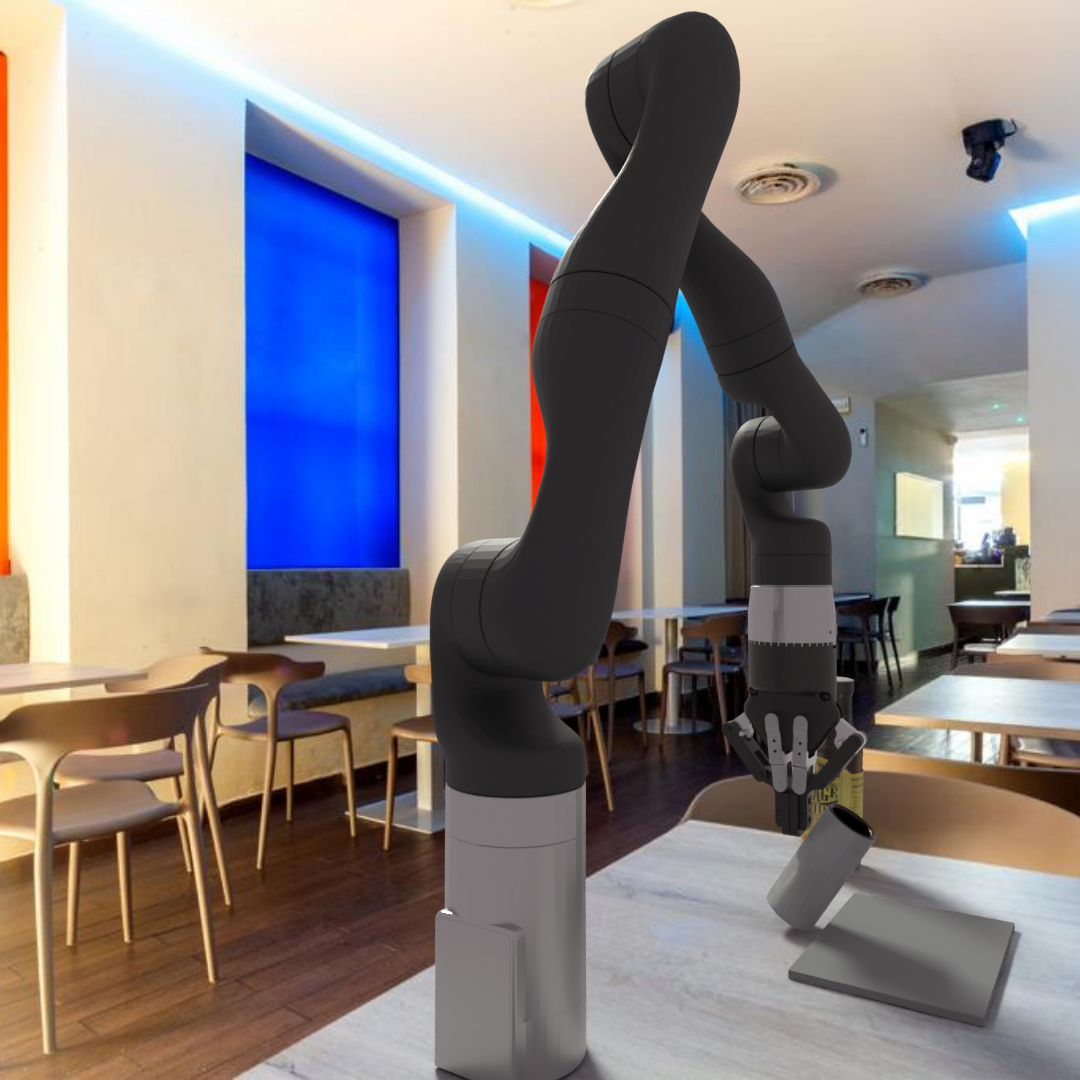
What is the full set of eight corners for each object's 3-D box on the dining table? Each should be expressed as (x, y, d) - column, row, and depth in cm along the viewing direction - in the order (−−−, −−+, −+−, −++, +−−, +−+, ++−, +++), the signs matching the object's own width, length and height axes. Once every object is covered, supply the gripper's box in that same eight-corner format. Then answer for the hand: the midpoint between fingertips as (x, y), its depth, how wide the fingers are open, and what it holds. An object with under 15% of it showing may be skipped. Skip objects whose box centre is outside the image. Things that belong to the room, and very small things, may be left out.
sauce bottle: (788, 859, 96) (787, 675, 97) (833, 852, 99) (831, 673, 100) (832, 878, 90) (829, 682, 91) (878, 870, 93) (875, 679, 94)
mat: (984, 1027, 61) (983, 1018, 61) (788, 977, 68) (788, 969, 68) (1014, 929, 77) (1014, 922, 77) (854, 898, 85) (854, 892, 85)
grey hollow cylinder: (808, 910, 80) (871, 821, 78) (815, 940, 76) (882, 847, 74) (763, 884, 81) (825, 794, 78) (768, 913, 76) (833, 819, 74)
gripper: (705, 636, 79) (706, 832, 79) (858, 642, 72) (861, 858, 72) (735, 631, 86) (736, 813, 85) (878, 636, 79) (881, 835, 78)
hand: (794, 833), depth 78 cm, fingers closed
